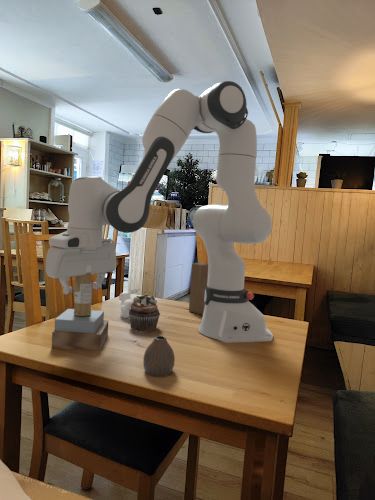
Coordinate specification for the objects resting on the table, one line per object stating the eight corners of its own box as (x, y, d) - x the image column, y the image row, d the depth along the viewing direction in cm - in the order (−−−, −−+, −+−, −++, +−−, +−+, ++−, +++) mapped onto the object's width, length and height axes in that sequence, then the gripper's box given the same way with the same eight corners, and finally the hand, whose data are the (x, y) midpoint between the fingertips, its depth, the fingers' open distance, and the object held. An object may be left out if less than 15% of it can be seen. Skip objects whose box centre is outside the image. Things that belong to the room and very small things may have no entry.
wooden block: (215, 314, 134) (219, 266, 132) (207, 317, 130) (211, 266, 128) (195, 309, 140) (199, 262, 138) (188, 311, 136) (191, 263, 134)
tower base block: (107, 337, 105) (108, 320, 104) (100, 353, 93) (101, 334, 92) (64, 335, 104) (65, 318, 103) (51, 351, 92) (52, 332, 92)
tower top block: (103, 321, 103) (103, 311, 102) (94, 333, 93) (94, 321, 92) (67, 319, 103) (68, 308, 102) (54, 330, 93) (54, 319, 93)
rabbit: (116, 312, 128) (117, 286, 127) (136, 311, 131) (138, 285, 130) (123, 321, 119) (125, 292, 118) (145, 319, 122) (147, 291, 121)
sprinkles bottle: (72, 313, 98) (73, 263, 98) (89, 312, 101) (90, 263, 100) (75, 317, 94) (76, 265, 94) (93, 315, 97) (94, 264, 96)
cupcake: (121, 327, 113) (122, 295, 111) (143, 321, 120) (144, 291, 119) (143, 335, 107) (145, 302, 106) (165, 328, 115) (167, 297, 113)
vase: (169, 384, 78) (172, 345, 77) (138, 380, 79) (140, 340, 78) (176, 371, 85) (178, 334, 84) (147, 367, 86) (149, 330, 85)
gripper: (107, 237, 106) (105, 284, 107) (42, 238, 89) (41, 294, 91) (122, 239, 102) (120, 288, 104) (58, 241, 86) (56, 299, 87)
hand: (82, 291), depth 97 cm, fingers open, 8 cm apart
